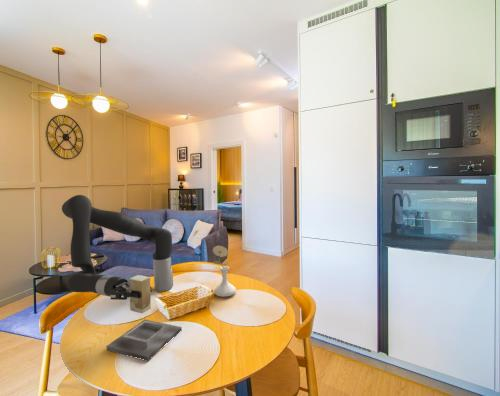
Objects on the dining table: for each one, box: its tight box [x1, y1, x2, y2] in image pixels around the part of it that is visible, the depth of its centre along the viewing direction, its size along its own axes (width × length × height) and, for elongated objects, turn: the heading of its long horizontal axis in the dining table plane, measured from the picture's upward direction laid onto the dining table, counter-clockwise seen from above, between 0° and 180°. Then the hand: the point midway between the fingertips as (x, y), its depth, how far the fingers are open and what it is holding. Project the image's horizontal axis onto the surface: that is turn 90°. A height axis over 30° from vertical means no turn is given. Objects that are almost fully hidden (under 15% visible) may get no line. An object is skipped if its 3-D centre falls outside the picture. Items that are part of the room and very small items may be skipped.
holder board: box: [106, 319, 183, 362], centre depth 93 cm, size 18×18×4 cm
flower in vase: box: [212, 245, 237, 298], centre depth 130 cm, size 13×11×25 cm
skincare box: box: [128, 274, 152, 315], centre depth 94 cm, size 6×4×12 cm
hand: (145, 292), depth 93 cm, fingers closed on skincare box, 4 cm apart
